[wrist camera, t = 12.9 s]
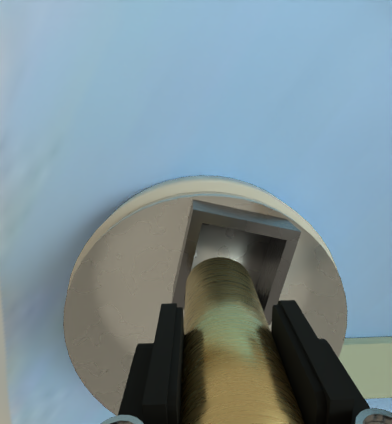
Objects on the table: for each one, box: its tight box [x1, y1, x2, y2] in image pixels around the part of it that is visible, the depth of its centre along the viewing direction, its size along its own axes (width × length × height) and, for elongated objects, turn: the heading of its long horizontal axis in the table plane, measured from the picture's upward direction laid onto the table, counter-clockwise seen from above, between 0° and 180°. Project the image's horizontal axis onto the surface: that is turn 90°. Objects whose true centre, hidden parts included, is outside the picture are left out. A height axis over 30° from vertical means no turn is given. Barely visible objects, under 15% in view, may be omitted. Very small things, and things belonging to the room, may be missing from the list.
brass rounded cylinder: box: [180, 257, 305, 424], centre depth 10 cm, size 3×3×9 cm
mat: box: [339, 337, 392, 399], centre depth 26 cm, size 8×6×1 cm
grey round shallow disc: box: [63, 191, 347, 416], centre depth 19 cm, size 19×19×4 cm
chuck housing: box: [67, 175, 337, 292], centre depth 23 cm, size 20×20×3 cm
